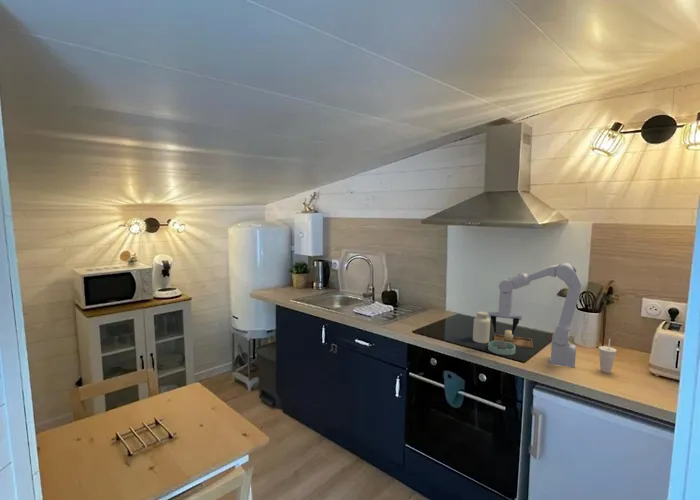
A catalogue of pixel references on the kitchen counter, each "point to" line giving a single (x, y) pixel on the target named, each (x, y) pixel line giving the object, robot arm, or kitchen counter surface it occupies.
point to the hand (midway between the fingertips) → (503, 332)
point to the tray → (516, 341)
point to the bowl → (508, 351)
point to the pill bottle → (481, 328)
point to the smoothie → (606, 357)
